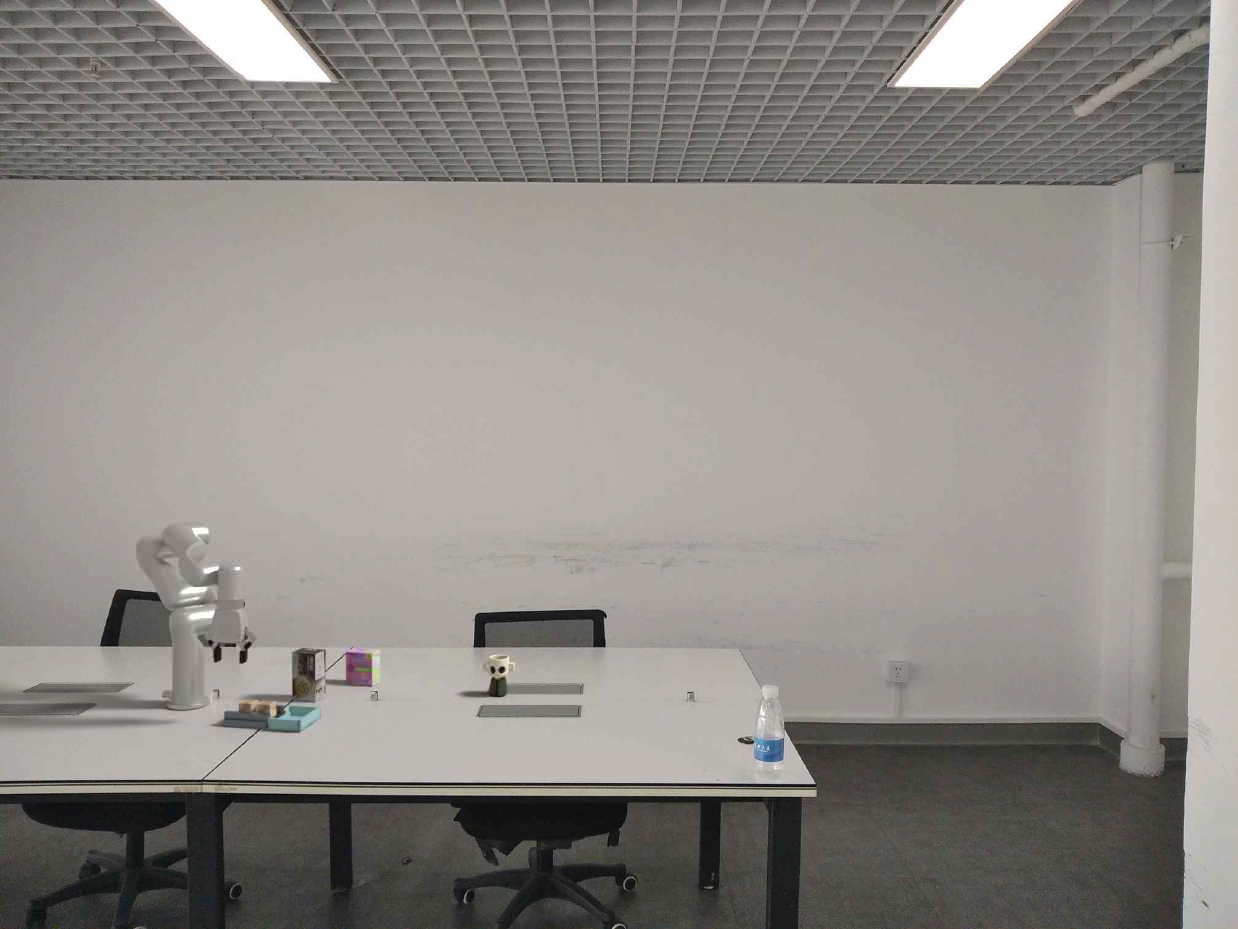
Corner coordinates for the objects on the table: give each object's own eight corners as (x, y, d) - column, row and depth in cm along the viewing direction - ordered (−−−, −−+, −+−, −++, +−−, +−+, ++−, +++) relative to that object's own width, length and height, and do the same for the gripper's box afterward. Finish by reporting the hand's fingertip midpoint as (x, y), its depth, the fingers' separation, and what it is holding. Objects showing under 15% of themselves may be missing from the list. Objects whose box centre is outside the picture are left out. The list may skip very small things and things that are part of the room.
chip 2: (257, 717, 285) (257, 704, 285) (263, 713, 289) (264, 700, 289) (269, 718, 284) (269, 705, 284) (276, 714, 288) (276, 701, 288)
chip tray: (267, 730, 279) (267, 718, 279) (290, 716, 293) (290, 705, 293) (299, 732, 278) (299, 720, 278) (320, 718, 292) (320, 707, 292)
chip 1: (238, 716, 286) (238, 703, 285) (245, 712, 290) (245, 699, 289) (251, 717, 285) (251, 704, 285) (257, 713, 289) (257, 700, 289)
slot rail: (222, 726, 282) (222, 713, 282) (243, 714, 294) (243, 701, 294) (266, 729, 280) (266, 715, 280) (285, 717, 292) (285, 704, 292)
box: (345, 684, 330) (345, 651, 330) (353, 680, 336) (353, 647, 335) (372, 687, 328) (372, 653, 327) (380, 682, 333) (380, 649, 333)
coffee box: (326, 697, 314) (326, 649, 314) (315, 702, 308) (315, 653, 307) (302, 694, 317) (302, 647, 316) (290, 700, 310) (291, 651, 310)
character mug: (480, 697, 318) (481, 659, 318) (484, 691, 325) (485, 654, 325) (512, 698, 318) (513, 660, 317) (515, 692, 325) (516, 655, 324)
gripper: (196, 605, 284) (196, 663, 285) (251, 608, 282) (250, 666, 283) (210, 601, 292) (210, 657, 292) (263, 603, 290) (263, 660, 290)
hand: (230, 661), depth 288 cm, fingers open, 7 cm apart
